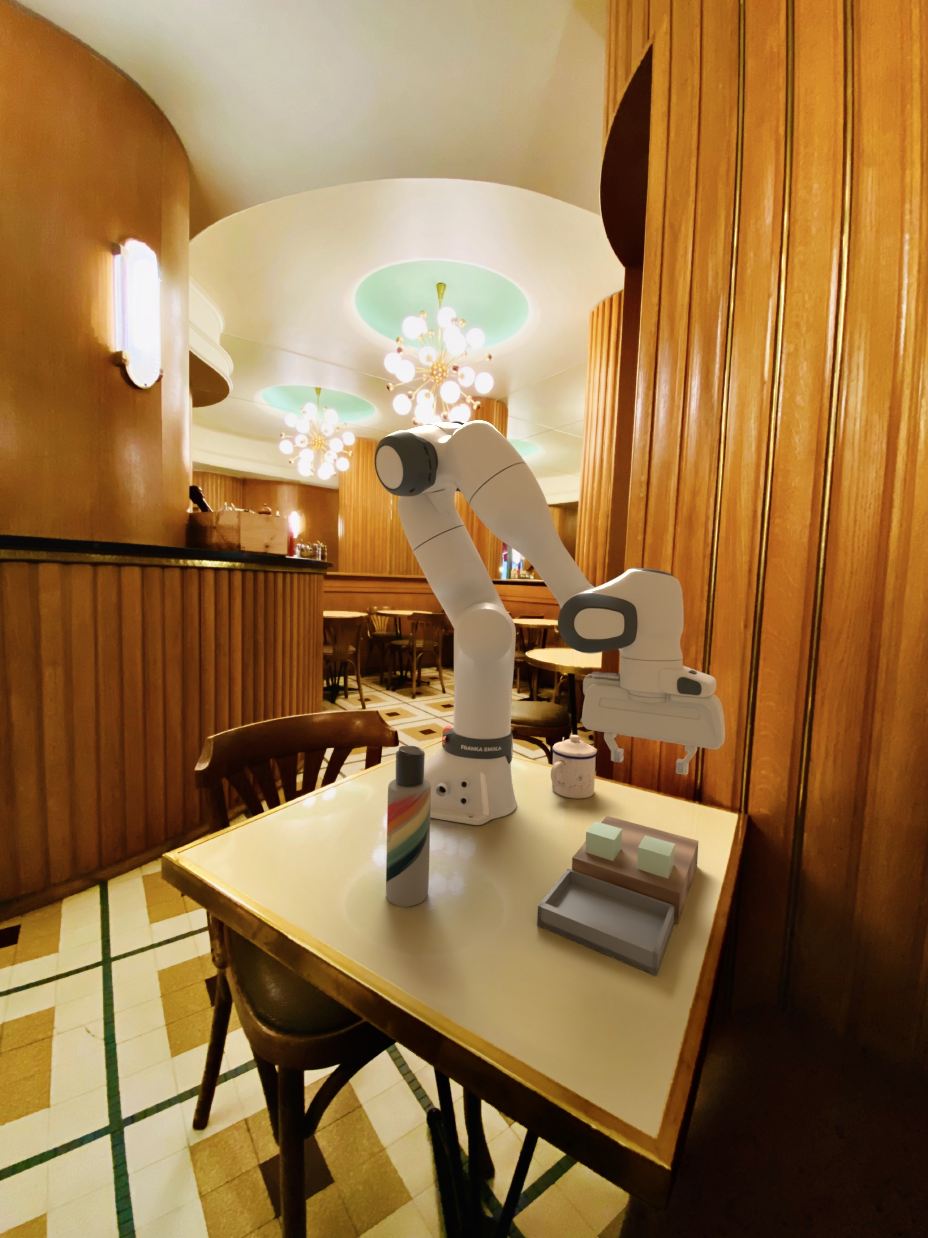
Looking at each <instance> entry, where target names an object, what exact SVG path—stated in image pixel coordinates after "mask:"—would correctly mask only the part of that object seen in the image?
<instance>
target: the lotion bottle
mask: <svg viewBox="0 0 928 1238" xmlns="http://www.w3.org/2000/svg"><path fill="white" fill-rule="evenodd" d="M425 755H426V754H425V750H423V749H422V748H421V747H418V746H416V745H415V746H414V745H401V746H399V747H398V749H397V751H396V752H395V779H393V780H391V781H390V782H389V783H388V785H387V808H386V809H387V813H386V814H387V816H386V818H387V819H386V821H387V822H386V857H385V859H386V862H385V863H386V866H385V867H386V868H385V871H386V872H385V873H386V875H385V893H386V894H385V895H386V898H387V899H388V901H389V902H390V904H393V905H395V906H397V907H404V908H405V907H406V908H407V907H412V906H417V905H419V904H421V903H422V902H423V901H425V900H426V899H427V896H428V894H429V883H430V882H429V880H430V847H431V845H430V842H431V839H430V838H431V837H430V836H431V818H430V808H431V785H430V783H429V781H427V780H426V779H424V760H426V759H425Z"/></svg>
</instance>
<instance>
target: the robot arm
mask: <svg viewBox="0 0 928 1238" xmlns="http://www.w3.org/2000/svg"><path fill="white" fill-rule="evenodd" d="M374 468H375V473H376V476H377V478H378V480H379V482H380V483H381V485H382V486H383V488H384V489H385V490H386V492H388V493H390V494H392V495H394V496H398V500H397V504H396V507H397V513H398V515H399V516H398V517H399V520H400V523H401V526H402V530H403V533H404V535H405V538H406V540H407V542H408V544H409V547H410V549H411V550H412V553H413V555H414V557H415V559H416V560H417V561H416V562H417V563H418V564H419V567H420V569H421V571H422V573H423V574H424V577H425V579H426V581H427V583H428V585H429V587H430V588H431V590H432V592H433V594H434V596H435V597H436V599H437V601H438V602H439V604H440V605H441V606H440V607H442V609H443V610H444V612H445V615H446V616H447V618H448V620H449V621H450V623H451V626H452V628H453V687H454V691H453V693H454V694H453V695H454V696H453V725H452V726H451V725H445V726H444V728H443V730H442V738H441V740H442V741H441V744H442V745H441V747H442V748H440V749H439V750H437V751H436V752H434V753H433V754H431V755H430V756H429V757H427V758H426V759H424V779H426V780H427V781H429V783H430V785H431V808H430V819H437V820H443V821H449V822H454V823H460V824H466V825H474V826H480V825H481V826H482V825H483V824H486V823H488V822H489V821H491V820H494V819H499V818H503V817H505V816H507V815H508V816H509V814H511V813H513V812H514V811H515V810H516V808H517V805H518V803H517V800H516V795H515V789H514V784H513V779H512V767H511V766H512V764H511V763H512V760H513V753H514V736H513V732H512V730H511V729H512V728H511V725H512V723H511V722H512V698H513V681H514V669H515V658H516V657H515V654H516V653H515V652H516V638H517V637H516V636H517V630H516V629H517V628H516V625H515V622H514V619H513V618H512V616H511V615H510V613H508V611H507V610H506V608H505V605H504V604H503V601H502V599H501V597H500V595H499V592H498V590H497V588H496V587H495V584H494V583H493V580H492V579H491V576H490V574H489V572H488V570H487V567H486V566H485V563H484V561H483V559H482V557H481V555H480V553H479V551H478V549H477V547H476V546H475V543H474V541H473V539H472V537H471V535H470V533H469V531H468V528H467V527H466V525H465V523H464V521H463V519H462V517H461V515H460V513H459V512H458V510H457V507H456V503H455V495H456V492H458V493H461V494H462V496H463V497H464V499H465V500H466V502H467V504H468V505H469V507H470V508H471V510H472V511H473V513H474V514H475V515H476V516H477V518H478V519H479V520H480V522H481V523H482V524H483V525H484V527H486V528H487V529H488V530H489V531H490V532H491V533H492V534H493V535H494V536H495V537H496V538H497V539H498V540H500V541H501V542H503V543H504V544H505V545H507V546H509V547H510V548H512V549H513V550H514V551H516V552H517V553H519V554H520V555H522V557H524V558H525V559H526V561H527V562H529V564H530V565H531V566H532V567H533V568H534V570H535V571H536V573H537V574H538V575H539V577H540V578H541V579H542V581H543V582H544V584H545V585H546V587H547V589H548V590H549V591H550V593H551V594H552V595H553V597H554V598H555V599H556V602H557V603H558V606H559V609H560V610H559V613H558V615H557V629H558V633H559V635H560V637H561V638H562V640H563V642H564V643H565V644H566V645H567V646H569V647H570V648H571V649H573V650H575V651H577V652H579V653H582V654H589V655H595V654H600V653H604V652H608V651H615V650H618V651H619V673H618V672H617V673H616V672H601V671H592V672H591V673H588V674H587V675H585V677H584V678H583V681H582V692H583V695H584V700H583V705H582V713H581V714H582V715H581V723H582V725H583V726H584V728H585V729H586V730H590V731H596V732H601V733H604V734H603V740H604V741H605V743H606V744H607V747H608V748H609V750H610V761H612V762H617V763H622V762H623V761H624V754H625V752H624V748H619V746H618V744H617V741H616V740H615V738H616V737H617V736H618V735H620V736H628V737H633V738H638V739H639V738H640V739H645V740H646V739H647V740H652V741H658V742H665V743H671V744H678V745H684V752H685V753H687V754H686V756H685V757H684V758H683V759H682V758H677V760H676V761H675V774H679V775H680V774H681V775H684V776H687V775H688V773H689V767H690V766H689V765H690V761H691V760H692V758H693V757H694V756H695V755H696V753H697V751H698V748H703V749H709V750H718V749H720V748H721V747H722V746H723V745H724V743H725V740H726V724H725V715H724V714H725V713H724V708H723V703H722V702H721V699H720V698H719V697H718V696H717V695H716V694H715V692H716V690H717V679H716V678H715V677H714V676H713V675H710V674H707V673H704V672H702V671H699V670H697V669H693V668H691V667H688V666H685V665H683V662H684V661H683V659H684V655H683V652H682V647H681V639H682V634H683V632H684V624H685V622H684V616H685V615H684V612H685V611H684V596H683V590H682V589H683V588H682V585H681V583H680V580H679V579H677V577H676V576H675V575H674V574H672V573H670V572H668V571H663V570H659V569H654V568H648V567H644V568H642V567H631V568H628V569H626V570H625V571H624V572H623V573H622V574H620V575H618V576H617V577H615V578H613V579H611V580H609V581H607V582H605V583H603V584H600V585H598V586H594V584H592V583H591V582H590V580H589V579H588V578H587V577H586V576H585V574H584V573H583V571H582V570H581V569H580V567H579V566H578V564H577V562H576V561H575V560H574V558H573V557H572V555H571V554H570V553H569V551H568V549H567V548H566V547H565V545H564V543H563V542H562V540H561V538H560V535H559V534H558V531H557V528H556V526H555V523H554V520H553V517H552V512H551V509H550V507H549V505H548V504H549V503H548V501H547V500H546V497H545V494H544V491H543V490H542V488H541V486H540V484H539V482H538V480H537V478H536V476H535V474H534V473H533V471H532V469H530V467H529V465H528V464H527V462H526V461H525V460H524V458H523V456H522V455H520V452H518V450H517V449H516V448H515V447H514V446H513V444H511V442H510V441H509V440H508V439H507V437H505V436H504V435H503V434H502V433H501V432H500V431H499V430H498V429H497V428H496V427H495V426H494V425H493V424H491V423H490V422H488V421H485V420H479V419H478V420H471V421H469V422H464V421H457V420H455V421H452V422H434V423H427V424H424V425H423V426H417V427H414V428H413V427H412V428H410V429H406V430H401V429H400V430H397V431H393V432H392V433H389V434H388V435H386V436H384V437H383V438H381V439H380V441H379V442H378V444H377V445H376V448H375V453H374Z"/></svg>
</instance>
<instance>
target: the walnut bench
mask: <svg viewBox="0 0 928 1238" xmlns="http://www.w3.org/2000/svg"><path fill="white" fill-rule="evenodd" d="M600 823H603V824H607V825H610V826H614V827H617V828H621V829H622V844H621V850H620V852H619V853H618V855H617V856H616V858H615V859H614V861H611V860H608V859H605V858H602V857H599V856H596V855H593V854H590V853H586V852H585V848H586V841H584V843H583V844H581V846H580V848H579V849H578V850H577V851H576V852H575V853H574V855H573V856H572V857H571V870H573V871H576V872H579V873H582V874H585V875H588V876H591V877H594V878H596V879H599V880H602V881H605V882H608V883H611V884H614V885H617V886H620V887H622V888H625V889H628V890H631V891H634V892H637V893H640V894H643V895H645V896H648V897H651V898H654V899H657V900H660V901H663V902H666V903H669V904H671V905H674V906H675V916H674V924H676V925H679V922H680V920H681V917H682V914H683V912H684V907H685V905H686V901H687V899H688V895H689V892H690V890H691V886H692V883H693V880H694V876H695V874H696V871H697V867H698V856H699V839H698V840H697V839H694V838H690V837H688V836H687V837H686V836H682V835H680V834H679V835H678V834H674V833H672V832H668V831H664V830H662V829H661V830H660V829H656V828H653V827H651V826H650V827H649V826H646V825H644V824H643V825H642V824H640V823H635V822H631V821H628V820H624V819H621V818H617V817H613V816H610V815H606V816H605V817H604V819H603V820H602V821H601V822H600ZM645 835H646V836H649V837H653V838H656V839H660V840H663V841H667V842H671V843H674V844H675V858H674V866H673V869H672V871H671V874H670V876H669V879H667V878H664V877H661V876H658V875H655V874H652V873H649V872H646V871H643V870H639V869H637V857H638V846H639V845H640V843H641V841H642V839H643V838H644V836H645Z"/></svg>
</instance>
